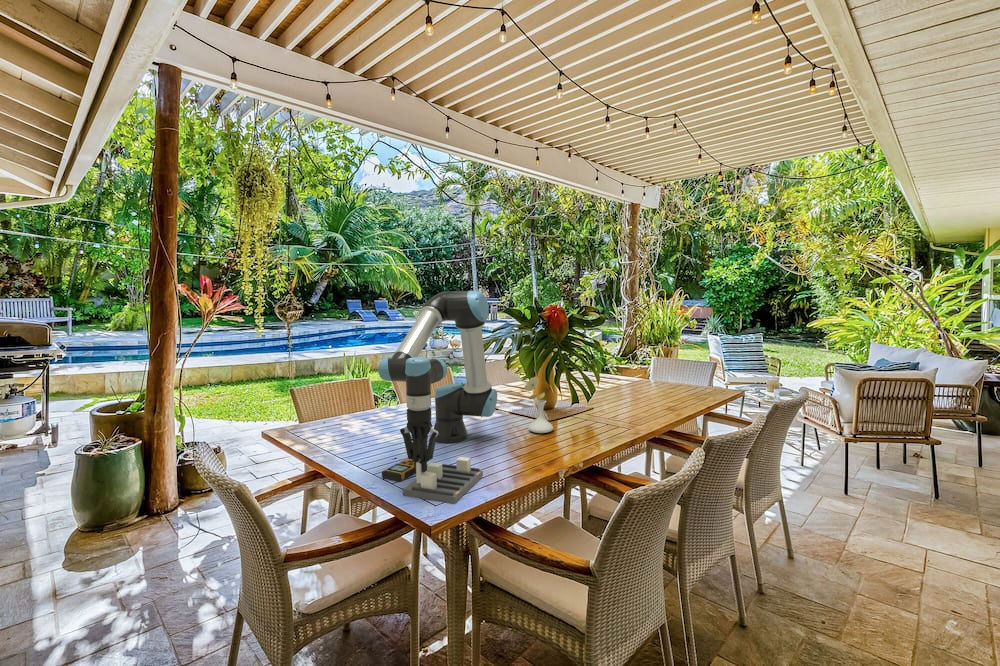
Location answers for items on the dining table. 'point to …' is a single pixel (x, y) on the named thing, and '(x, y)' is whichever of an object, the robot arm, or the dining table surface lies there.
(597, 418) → the dining table surface
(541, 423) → the flower in vase
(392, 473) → the electronic device
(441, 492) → the switch bank
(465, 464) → the tab
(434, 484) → the tab
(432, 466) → the tab
